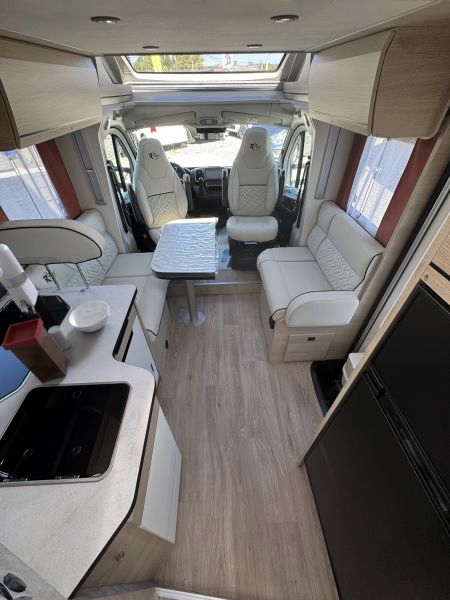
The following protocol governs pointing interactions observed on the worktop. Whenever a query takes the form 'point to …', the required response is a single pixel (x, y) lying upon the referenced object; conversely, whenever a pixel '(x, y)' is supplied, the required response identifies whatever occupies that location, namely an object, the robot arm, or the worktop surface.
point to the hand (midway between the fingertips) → (39, 311)
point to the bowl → (90, 316)
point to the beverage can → (59, 337)
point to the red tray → (23, 334)
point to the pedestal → (43, 358)
